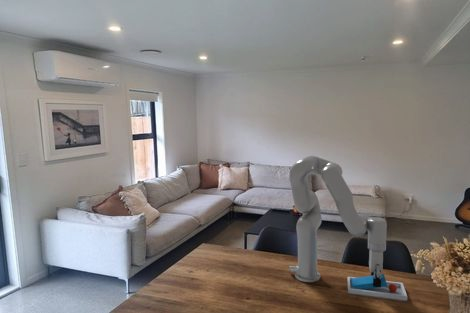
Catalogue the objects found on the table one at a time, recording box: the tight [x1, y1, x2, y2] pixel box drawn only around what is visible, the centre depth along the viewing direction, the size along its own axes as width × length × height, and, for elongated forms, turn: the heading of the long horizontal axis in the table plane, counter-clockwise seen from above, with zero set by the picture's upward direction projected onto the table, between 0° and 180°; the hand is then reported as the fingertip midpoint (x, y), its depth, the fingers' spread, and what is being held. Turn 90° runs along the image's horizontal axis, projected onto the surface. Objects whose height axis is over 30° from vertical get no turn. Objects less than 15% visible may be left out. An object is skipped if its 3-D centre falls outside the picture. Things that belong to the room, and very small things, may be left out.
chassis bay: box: [347, 276, 408, 303], centre depth 151 cm, size 24×12×2 cm, turn 73°
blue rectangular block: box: [352, 273, 397, 292], centre depth 151 cm, size 7×7×18 cm
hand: (375, 281), depth 150 cm, fingers open, 9 cm apart
